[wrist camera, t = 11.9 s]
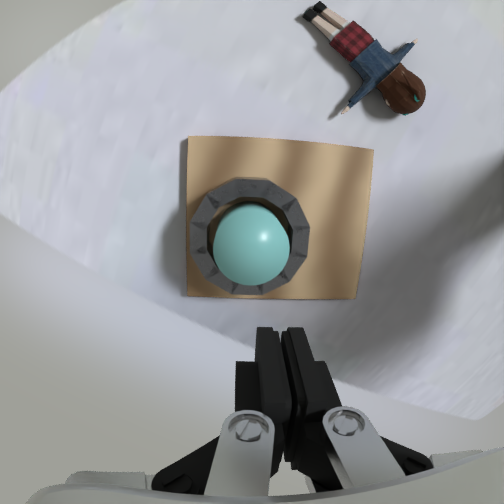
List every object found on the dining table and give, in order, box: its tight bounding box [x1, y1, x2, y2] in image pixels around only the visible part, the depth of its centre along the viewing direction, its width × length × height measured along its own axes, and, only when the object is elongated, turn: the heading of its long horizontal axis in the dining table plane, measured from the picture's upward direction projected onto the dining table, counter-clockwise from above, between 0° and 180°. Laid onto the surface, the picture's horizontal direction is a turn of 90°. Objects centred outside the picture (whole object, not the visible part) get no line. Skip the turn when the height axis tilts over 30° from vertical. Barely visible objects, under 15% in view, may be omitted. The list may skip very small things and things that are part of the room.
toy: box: [303, 1, 426, 116], centre depth 25 cm, size 14×5×15 cm
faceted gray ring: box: [190, 177, 310, 295], centre depth 29 cm, size 10×10×3 cm
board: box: [186, 136, 374, 299], centre depth 31 cm, size 18×16×1 cm
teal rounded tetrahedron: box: [213, 201, 290, 285], centre depth 28 cm, size 6×6×6 cm
